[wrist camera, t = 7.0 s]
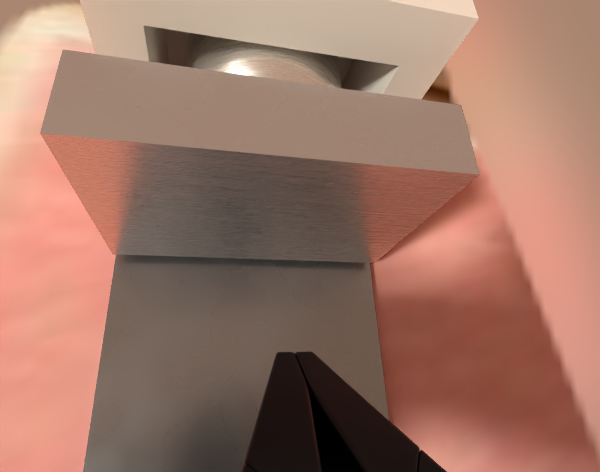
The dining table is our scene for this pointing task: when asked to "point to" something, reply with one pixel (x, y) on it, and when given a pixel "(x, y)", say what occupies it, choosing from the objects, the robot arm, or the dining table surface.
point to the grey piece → (250, 154)
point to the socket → (297, 33)
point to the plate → (218, 353)
